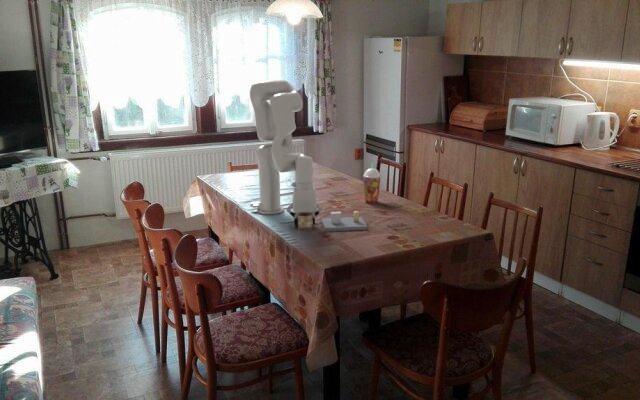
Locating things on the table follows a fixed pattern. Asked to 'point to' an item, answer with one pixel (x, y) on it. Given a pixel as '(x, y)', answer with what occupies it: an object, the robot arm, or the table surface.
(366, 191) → the smoothie
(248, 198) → the table surface
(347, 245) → the table surface
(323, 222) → the pin board
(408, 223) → the table surface
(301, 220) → the sleeve
